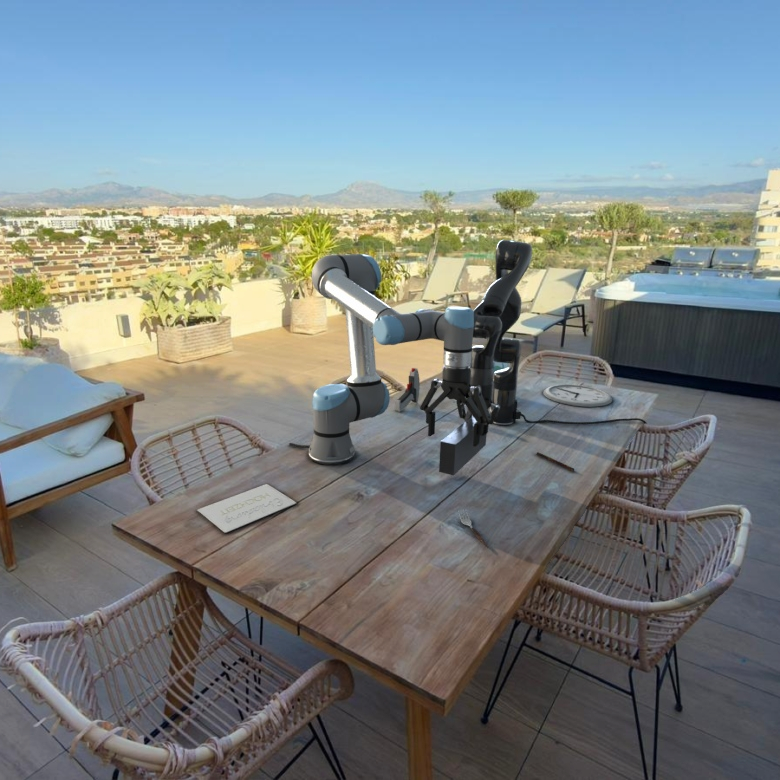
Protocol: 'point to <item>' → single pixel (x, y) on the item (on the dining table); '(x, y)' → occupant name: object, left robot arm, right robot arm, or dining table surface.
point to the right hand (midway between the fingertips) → (476, 433)
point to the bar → (459, 448)
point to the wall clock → (577, 395)
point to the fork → (468, 522)
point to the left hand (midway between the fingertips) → (453, 439)
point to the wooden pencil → (555, 461)
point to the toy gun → (409, 391)
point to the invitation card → (246, 507)
